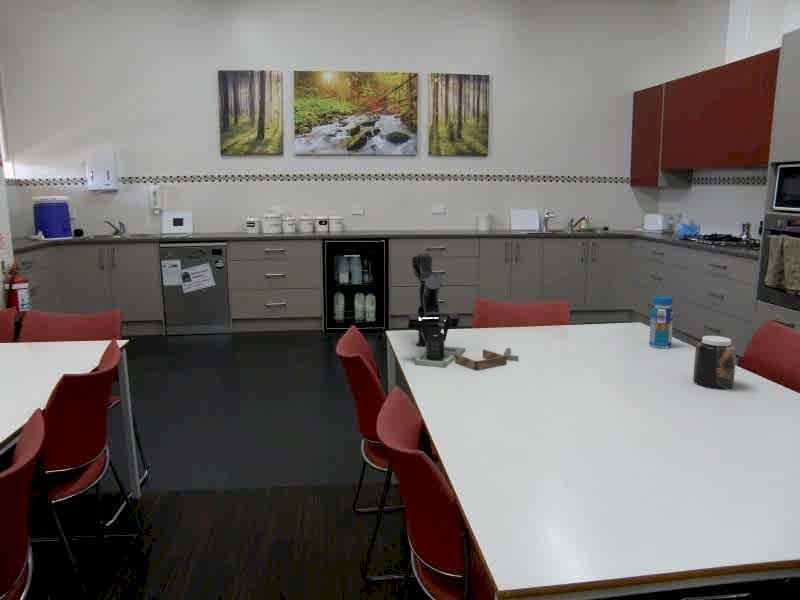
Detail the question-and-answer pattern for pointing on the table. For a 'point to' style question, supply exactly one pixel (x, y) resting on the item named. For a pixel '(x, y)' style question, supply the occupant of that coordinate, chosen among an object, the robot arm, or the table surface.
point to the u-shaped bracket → (490, 360)
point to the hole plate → (454, 350)
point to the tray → (434, 361)
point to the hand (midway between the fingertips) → (435, 340)
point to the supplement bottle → (435, 343)
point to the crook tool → (510, 357)
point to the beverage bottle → (661, 322)
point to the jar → (715, 362)
